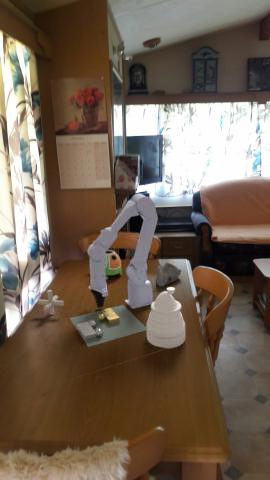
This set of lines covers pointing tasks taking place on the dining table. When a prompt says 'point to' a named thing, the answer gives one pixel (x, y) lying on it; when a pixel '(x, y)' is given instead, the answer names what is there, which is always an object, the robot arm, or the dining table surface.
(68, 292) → the dining table surface
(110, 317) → the tan knobbed block
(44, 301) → the pipe connector
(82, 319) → the mat
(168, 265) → the mineral rock
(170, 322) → the honey pot
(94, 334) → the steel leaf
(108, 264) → the turtle holder
